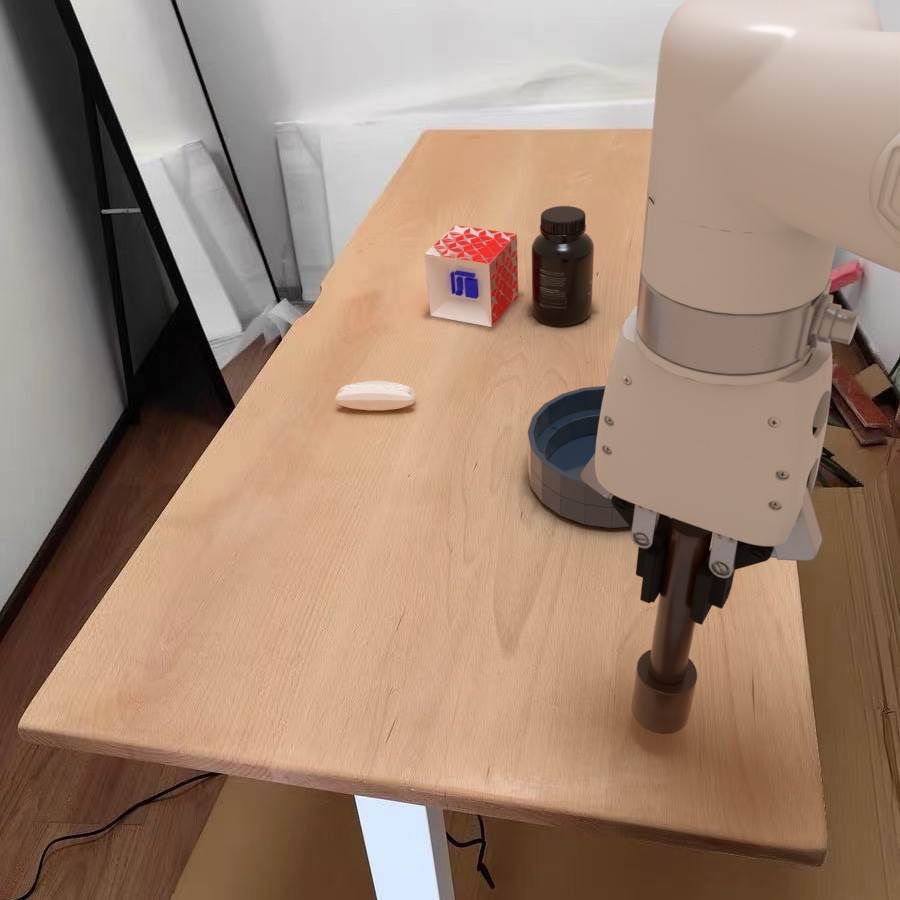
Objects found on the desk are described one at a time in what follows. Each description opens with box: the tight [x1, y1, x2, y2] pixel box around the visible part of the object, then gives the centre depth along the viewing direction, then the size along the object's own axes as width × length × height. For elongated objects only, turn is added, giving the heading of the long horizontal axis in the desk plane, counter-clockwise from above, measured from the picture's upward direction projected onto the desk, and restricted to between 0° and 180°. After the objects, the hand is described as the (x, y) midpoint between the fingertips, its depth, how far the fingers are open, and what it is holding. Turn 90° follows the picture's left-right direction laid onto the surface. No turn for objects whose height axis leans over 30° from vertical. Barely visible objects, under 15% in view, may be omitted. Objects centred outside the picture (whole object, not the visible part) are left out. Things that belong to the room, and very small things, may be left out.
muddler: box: [630, 517, 714, 735], centre depth 50 cm, size 4×4×16 cm
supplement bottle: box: [531, 205, 595, 327], centre depth 96 cm, size 7×7×12 cm
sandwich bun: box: [334, 380, 416, 412], centre depth 87 cm, size 3×8×3 cm, turn 84°
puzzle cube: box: [424, 224, 519, 328], centre depth 100 cm, size 8×8×8 cm
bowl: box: [527, 385, 630, 529], centre depth 75 cm, size 14×14×5 cm
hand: (680, 594), depth 49 cm, fingers closed on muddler, 2 cm apart
